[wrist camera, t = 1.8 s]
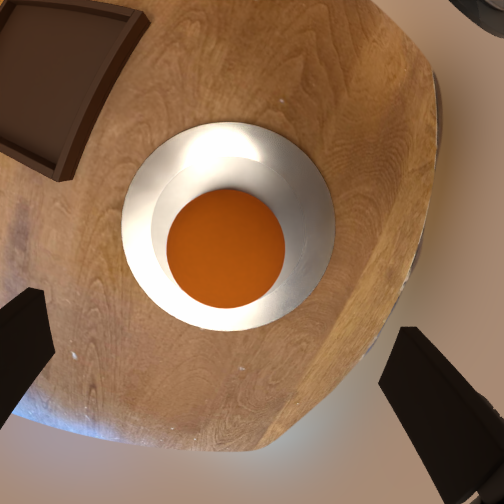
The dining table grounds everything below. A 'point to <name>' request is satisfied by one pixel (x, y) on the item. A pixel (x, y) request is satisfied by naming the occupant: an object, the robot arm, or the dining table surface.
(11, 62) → the tray
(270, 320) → the plate
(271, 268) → the orange
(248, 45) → the dining table surface
